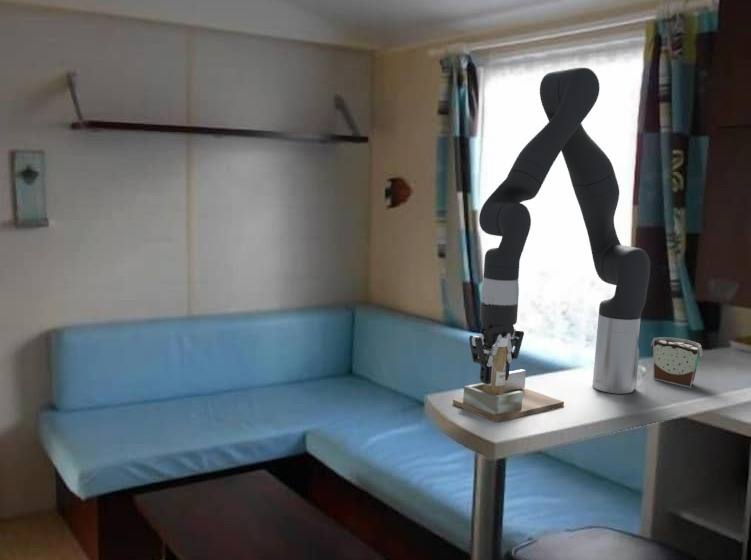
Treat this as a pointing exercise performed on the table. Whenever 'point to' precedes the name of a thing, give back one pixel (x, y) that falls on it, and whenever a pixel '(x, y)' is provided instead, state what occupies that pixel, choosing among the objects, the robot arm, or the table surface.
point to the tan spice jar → (498, 369)
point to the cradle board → (505, 402)
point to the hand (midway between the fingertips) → (494, 381)
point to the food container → (675, 360)
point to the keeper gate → (515, 380)
